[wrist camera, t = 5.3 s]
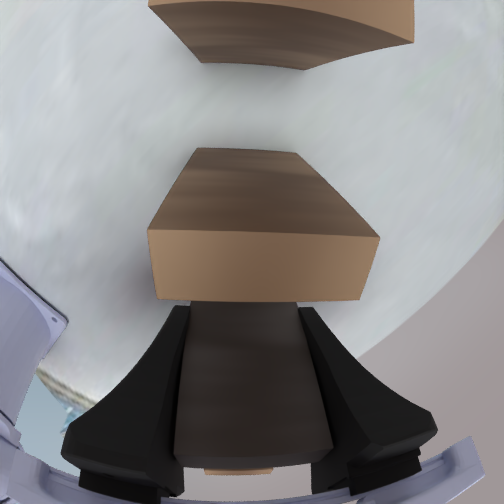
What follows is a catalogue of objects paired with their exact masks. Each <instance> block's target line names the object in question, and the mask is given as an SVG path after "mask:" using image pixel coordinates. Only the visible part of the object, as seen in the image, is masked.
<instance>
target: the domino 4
mask: <svg viewBox="0 0 504 504" xmlns="http://www.w3.org/2000/svg"><path fill="white" fill-rule="evenodd" d="M147 234H148V242H149V250H150V257H151V265H152V271H153V278H154V284H155V290H156V296H157V299H167V300H190V301H225V302H313V301H348V300H359V299H360V297H361V294H362V291H363V289H364V286H365V283H366V280H367V277H368V274H369V272H370V269H371V266H372V263H373V260H374V257H375V253H376V250H377V247H378V244H379V241H380V237H379V235H378V234H377V233H376V232H375V231H374V230H373V229H372V228H371V227H370V225H369V224H368V223H367V222H366V221H365V220H364V219H363V218H362V217H361V216H360V215H359V214H358V213H357V211H356V210H355V209H354V208H353V207H352V206H351V205H350V204H349V203H348V202H347V201H346V200H345V199H344V198H343V197H342V196H341V195H340V194H339V193H338V192H337V191H336V190H335V189H334V188H333V187H332V186H331V185H330V184H329V183H328V182H327V181H326V180H325V179H324V178H323V177H322V176H321V175H320V174H319V173H318V172H316V171H315V170H314V169H313V168H312V167H311V166H310V165H309V164H308V163H307V162H306V161H305V160H304V159H302V158H301V157H300V156H299V155H298V154H297V153H292V152H281V151H268V150H252V149H230V148H197V149H196V150H195V152H194V153H193V155H192V156H191V158H190V159H189V161H188V162H187V164H186V166H185V167H184V169H183V170H182V172H181V173H180V175H179V176H178V178H177V180H176V181H175V183H174V184H173V186H172V188H171V189H170V191H169V193H168V194H167V196H166V198H165V199H164V201H163V203H162V204H161V206H160V208H159V209H158V211H157V213H156V215H155V216H154V218H153V220H152V222H151V223H150V225H149V227H148V229H147Z"/></svg>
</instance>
